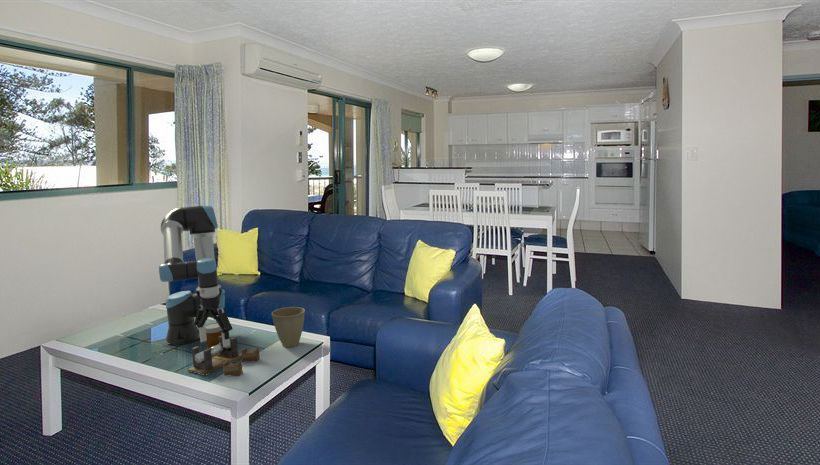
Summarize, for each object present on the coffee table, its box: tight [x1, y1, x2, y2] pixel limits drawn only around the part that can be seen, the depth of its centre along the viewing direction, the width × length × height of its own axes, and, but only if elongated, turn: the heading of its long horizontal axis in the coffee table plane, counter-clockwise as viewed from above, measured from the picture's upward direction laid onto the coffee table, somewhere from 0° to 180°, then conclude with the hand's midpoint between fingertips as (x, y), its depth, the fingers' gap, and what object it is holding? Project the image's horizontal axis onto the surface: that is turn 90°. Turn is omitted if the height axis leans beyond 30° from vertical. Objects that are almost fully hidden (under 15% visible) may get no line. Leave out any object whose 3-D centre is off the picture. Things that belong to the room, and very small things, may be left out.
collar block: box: [187, 336, 242, 376], centre depth 214 cm, size 10×21×10 cm, turn 153°
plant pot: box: [271, 306, 306, 348], centre depth 233 cm, size 15×15×16 cm
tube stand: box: [222, 346, 261, 377], centre depth 210 cm, size 17×7×5 cm, turn 167°
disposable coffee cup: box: [203, 321, 223, 349], centre depth 229 cm, size 10×10×12 cm
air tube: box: [195, 338, 231, 363], centre depth 214 cm, size 18×4×4 cm, turn 152°
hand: (214, 343), depth 214 cm, fingers open, 13 cm apart
